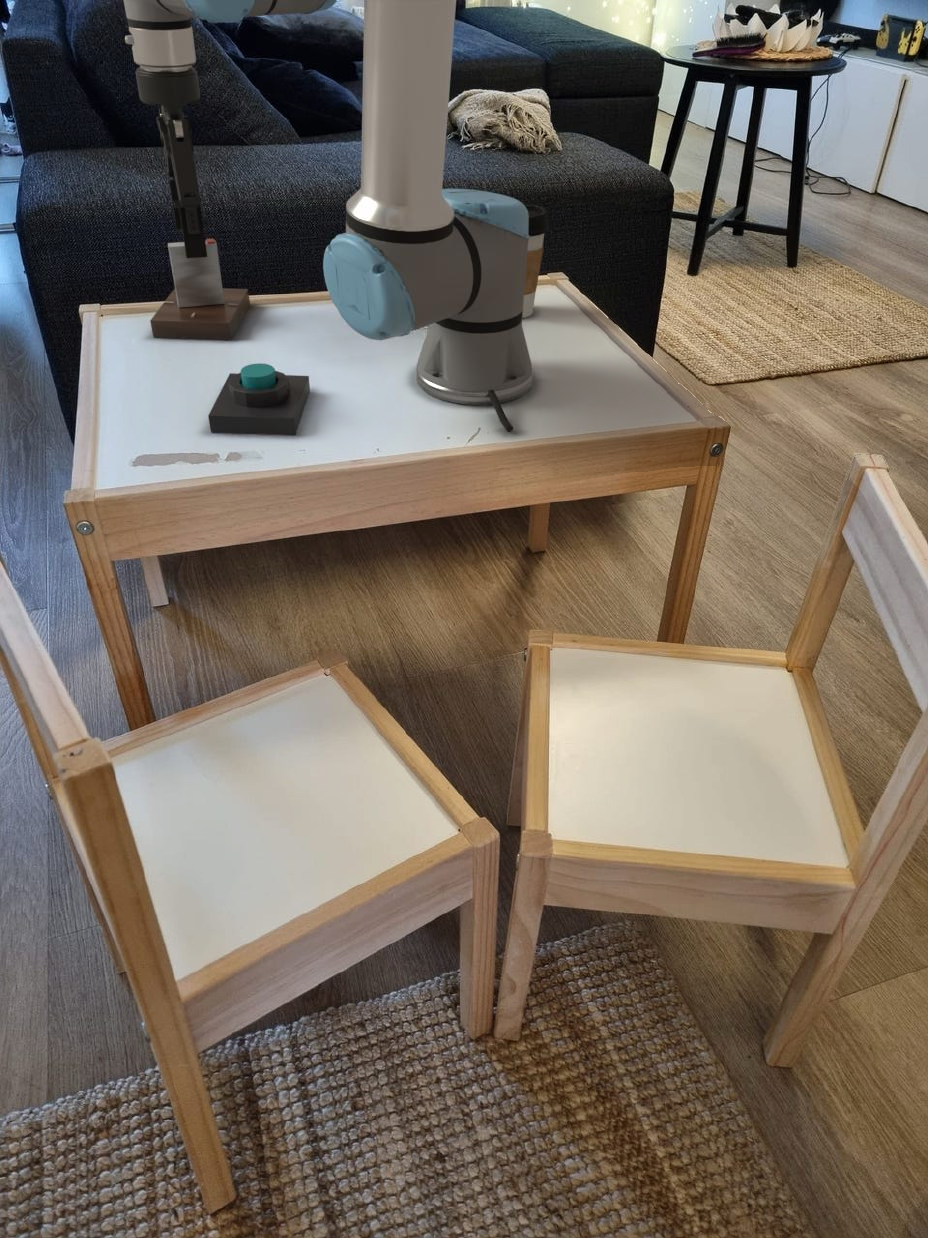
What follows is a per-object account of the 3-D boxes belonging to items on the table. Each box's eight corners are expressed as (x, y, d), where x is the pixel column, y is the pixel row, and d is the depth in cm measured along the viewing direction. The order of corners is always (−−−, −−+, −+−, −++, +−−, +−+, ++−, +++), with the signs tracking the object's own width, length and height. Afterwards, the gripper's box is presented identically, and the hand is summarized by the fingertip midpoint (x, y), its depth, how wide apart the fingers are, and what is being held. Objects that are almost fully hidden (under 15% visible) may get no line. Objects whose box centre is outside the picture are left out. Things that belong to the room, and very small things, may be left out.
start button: (273, 391, 109) (271, 377, 108) (239, 390, 109) (237, 376, 108) (278, 377, 112) (277, 363, 111) (245, 376, 112) (244, 362, 111)
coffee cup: (541, 322, 139) (550, 218, 130) (486, 320, 139) (490, 215, 130) (539, 303, 145) (547, 202, 136) (486, 301, 145) (490, 200, 136)
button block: (295, 435, 108) (292, 403, 106) (210, 432, 108) (205, 401, 106) (310, 391, 118) (307, 361, 115) (232, 389, 118) (228, 359, 115)
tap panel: (231, 340, 130) (228, 321, 128) (153, 337, 130) (149, 319, 128) (250, 305, 141) (248, 287, 139) (178, 302, 141) (175, 285, 139)
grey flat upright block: (178, 307, 132) (168, 244, 127) (177, 303, 134) (167, 241, 128) (224, 303, 134) (216, 241, 129) (222, 299, 136) (214, 237, 130)
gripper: (128, 51, 123) (155, 217, 137) (142, 84, 105) (172, 272, 119) (185, 51, 125) (207, 214, 139) (208, 83, 107) (231, 268, 121)
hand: (191, 241), depth 129 cm, fingers open, 13 cm apart
